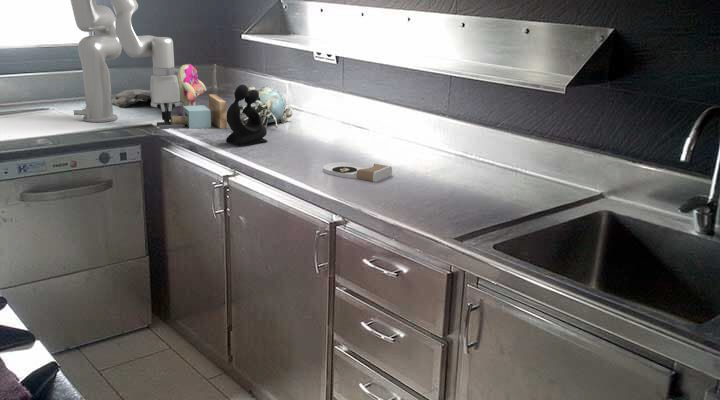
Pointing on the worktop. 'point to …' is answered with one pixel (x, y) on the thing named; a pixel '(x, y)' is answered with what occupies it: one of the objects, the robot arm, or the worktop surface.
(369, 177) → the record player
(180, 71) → the toy
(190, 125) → the block
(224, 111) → the block
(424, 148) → the worktop surface
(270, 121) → the sculpture
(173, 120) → the dowel
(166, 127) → the guide rails
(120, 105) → the stone fragment
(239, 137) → the figurine
